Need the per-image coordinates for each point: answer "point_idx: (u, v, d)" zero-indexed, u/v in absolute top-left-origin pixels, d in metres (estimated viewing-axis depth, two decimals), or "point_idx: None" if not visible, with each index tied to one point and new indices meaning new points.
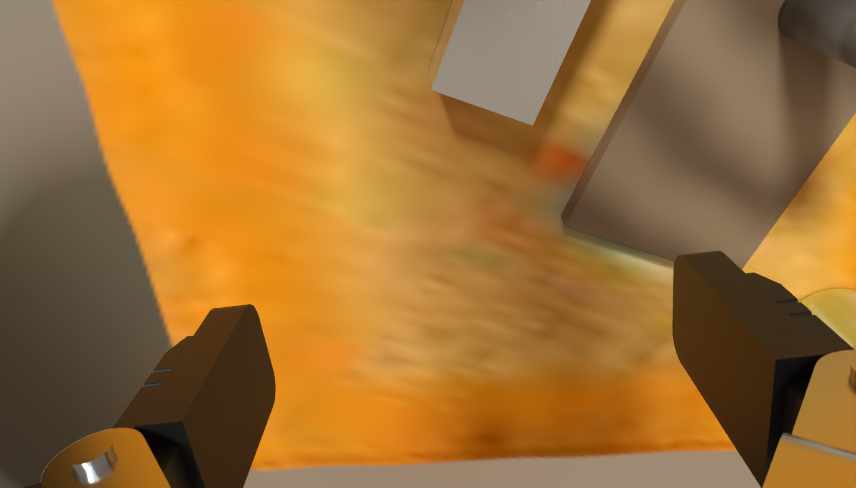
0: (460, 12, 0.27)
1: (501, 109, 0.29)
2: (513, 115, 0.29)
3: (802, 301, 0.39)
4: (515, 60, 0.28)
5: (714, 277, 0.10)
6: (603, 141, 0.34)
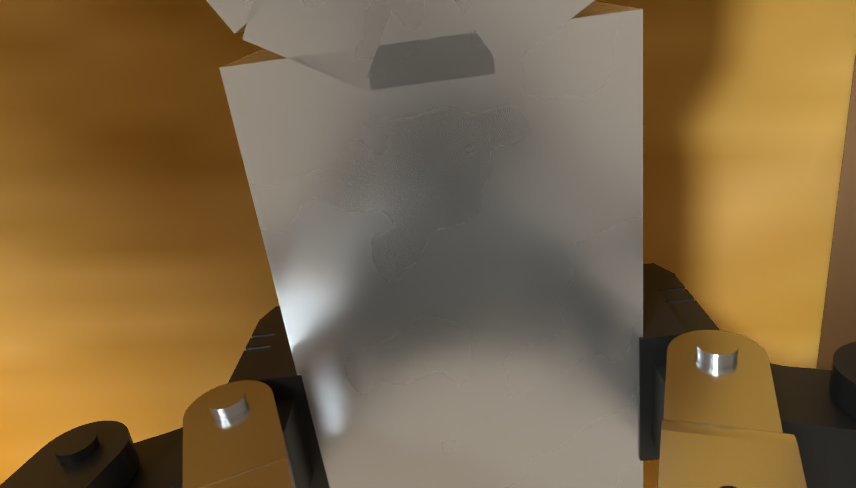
0: None
1: None
2: None
3: None
4: None
5: None
6: None
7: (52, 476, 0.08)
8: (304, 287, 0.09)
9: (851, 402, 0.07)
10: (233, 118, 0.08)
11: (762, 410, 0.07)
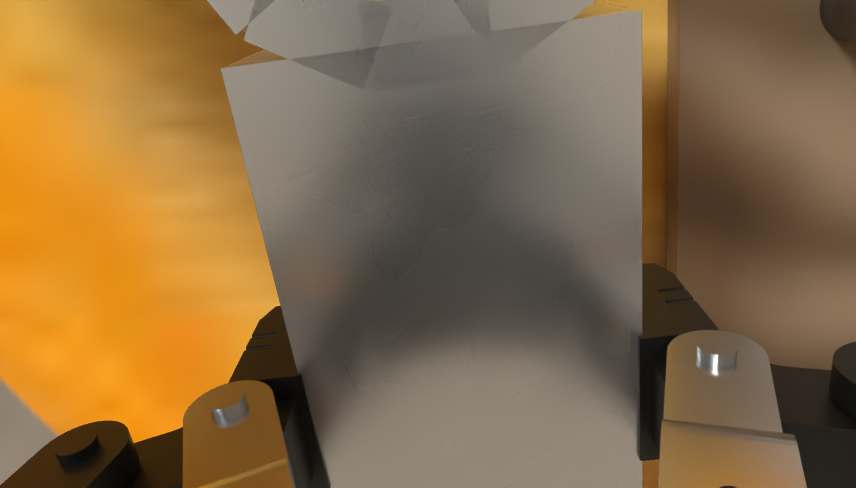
0: None
1: None
2: None
3: None
4: None
5: None
6: None
7: (52, 476, 0.08)
8: (305, 287, 0.09)
9: (851, 402, 0.07)
10: (234, 119, 0.08)
11: (761, 410, 0.07)
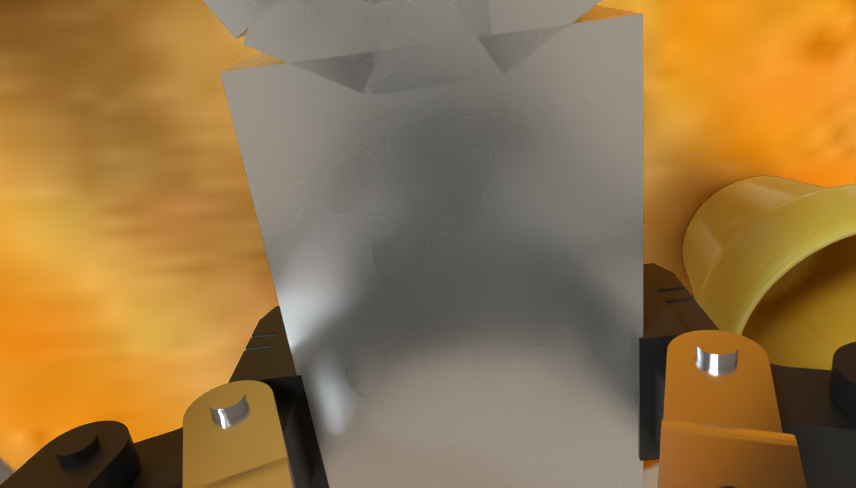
0: None
1: None
2: None
3: (692, 219, 0.30)
4: None
5: None
6: None
7: (52, 476, 0.08)
8: (305, 291, 0.09)
9: (851, 402, 0.07)
10: (234, 123, 0.08)
11: (761, 410, 0.07)
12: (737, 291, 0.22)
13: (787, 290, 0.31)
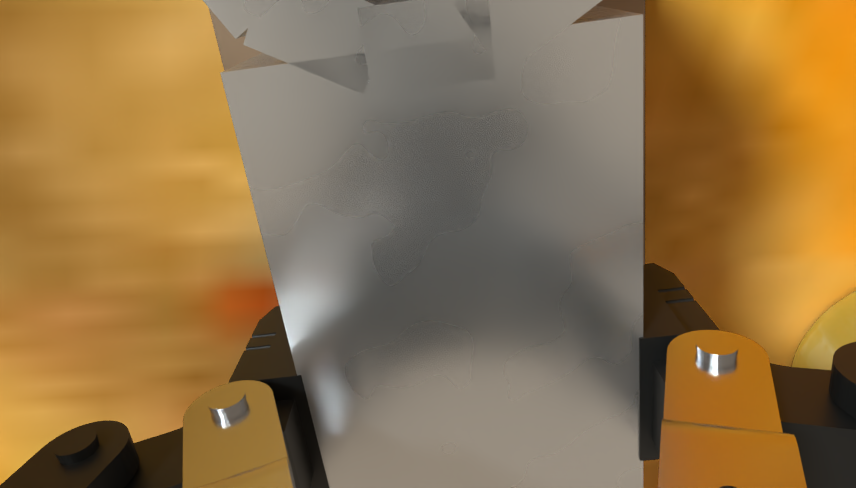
0: None
1: None
2: None
3: (809, 335, 0.21)
4: None
5: None
6: None
7: (52, 476, 0.08)
8: (305, 291, 0.09)
9: (851, 402, 0.07)
10: (234, 123, 0.08)
11: (761, 410, 0.07)
12: None
13: None
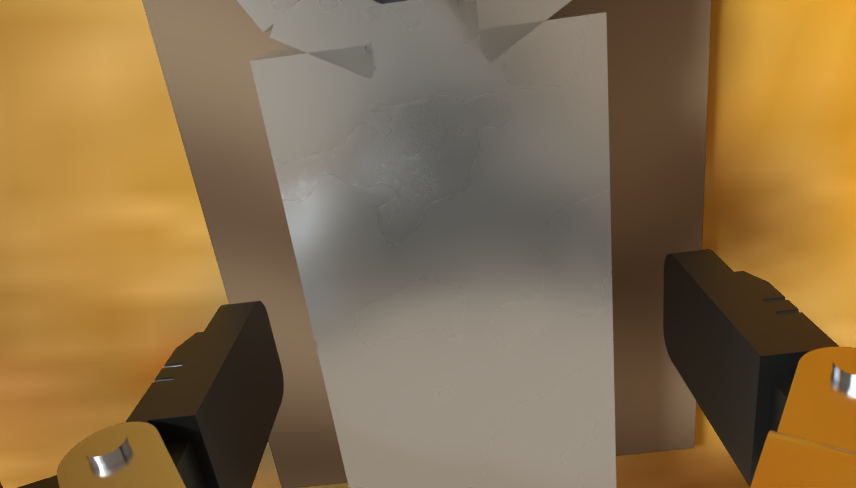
0: (337, 427, 0.11)
1: None
2: None
3: None
4: (508, 458, 0.12)
5: (703, 275, 0.10)
6: None
7: None
8: (319, 251, 0.10)
9: None
10: (261, 104, 0.09)
11: None
12: None
13: None
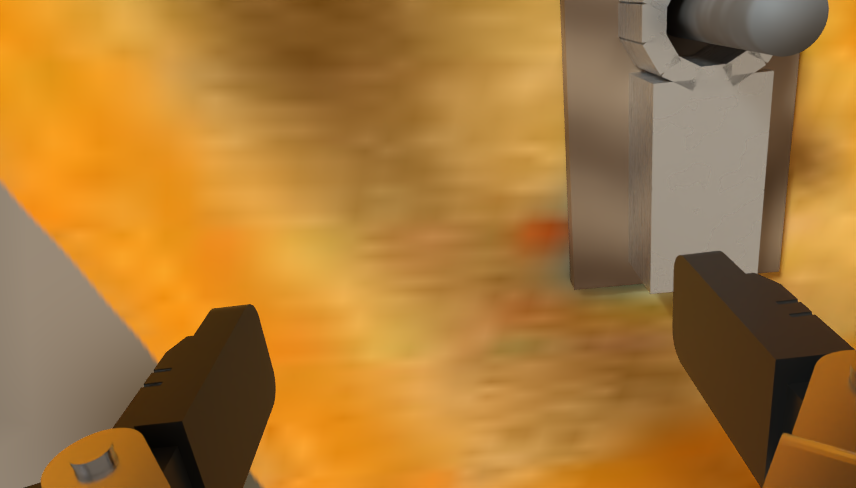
0: (651, 225, 0.30)
1: None
2: None
3: None
4: (717, 240, 0.30)
5: (714, 277, 0.10)
6: (568, 200, 0.34)
7: None
8: (661, 151, 0.28)
9: None
10: (653, 98, 0.27)
11: None
12: None
13: None
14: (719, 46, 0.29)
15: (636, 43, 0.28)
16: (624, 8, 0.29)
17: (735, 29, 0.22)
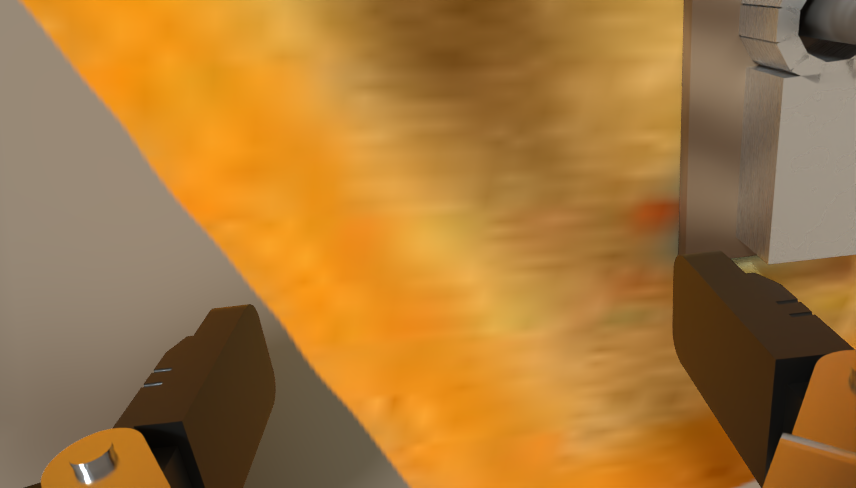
0: (773, 203, 0.33)
1: (831, 253, 0.34)
2: (843, 253, 0.34)
3: None
4: (830, 215, 0.34)
5: (714, 277, 0.10)
6: (682, 182, 0.38)
7: None
8: (786, 137, 0.32)
9: None
10: (783, 91, 0.31)
11: None
12: None
13: None
14: (832, 42, 0.33)
15: (766, 42, 0.31)
16: (750, 10, 0.32)
17: None
